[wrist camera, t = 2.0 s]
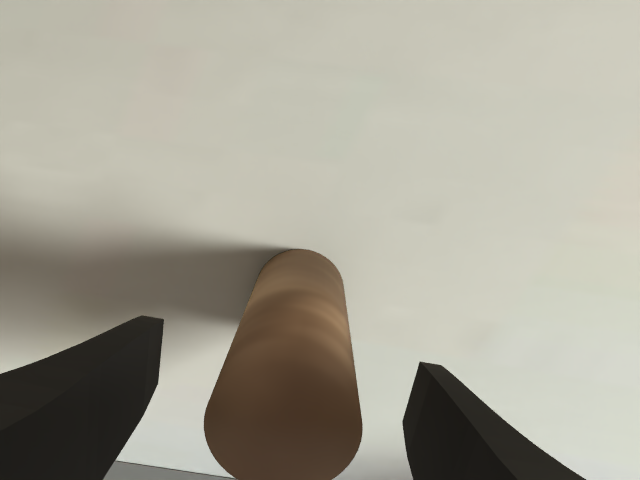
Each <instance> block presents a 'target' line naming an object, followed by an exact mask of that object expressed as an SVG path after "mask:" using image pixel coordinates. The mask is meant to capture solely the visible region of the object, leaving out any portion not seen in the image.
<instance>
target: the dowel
mask: <svg viewBox="0 0 640 480" xmlns="http://www.w3.org/2000/svg"><path fill="white" fill-rule="evenodd" d="M204 432H205V437H206V441H207V444H208V446H209V449H210V451H211V453H212V454H213V456H214V458H215V459H216V460H217V462H218V463H219V464H220V465H221V466H222V467H223V468H224V469H225V470H226V471H227V472H228V473H229V474H231V475H232V476H233V477H235V478H236V479H238V480H332V479H333V478H335V477H336V476H337V475H339V474H340V473H341V472H342V471H343V470H344V469H345V468H346V467H347V466H348V465H349V464H350V462H351V461H352V460H353V458H354V456H355V455H356V453H357V451H358V448H359V445H360V442H361V437H362V418H361V410H360V403H359V396H358V388H357V381H356V374H355V366H354V359H353V352H352V344H351V337H350V330H349V322H348V315H347V308H346V300H345V293H344V286H343V281H342V277H341V275H340V273H339V271H338V269H337V268H336V267H335V265H334V264H333V263H332V262H331V261H330V260H329V259H327V258H326V257H324V256H323V255H321V254H319V253H316V252H314V251H310V250H304V249H295V250H289V251H285V252H282V253H280V254H278V255H276V256H274V257H273V258H272V259H270V260H269V261H268V262H267V263H266V264H265V266H264V267H263V268H262V270H261V272H260V274H259V276H258V279H257V281H256V284H255V286H254V289H253V291H252V294H251V296H250V299H249V301H248V304H247V306H246V309H245V311H244V314H243V317H242V319H241V322H240V324H239V327H238V329H237V332H236V334H235V337H234V339H233V342H232V344H231V347H230V349H229V352H228V354H227V357H226V359H225V362H224V364H223V367H222V369H221V372H220V374H219V377H218V380H217V382H216V385H215V387H214V390H213V392H212V395H211V397H210V400H209V402H208V405H207V407H206V411H205V416H204Z"/></svg>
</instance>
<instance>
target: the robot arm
mask: <svg viewBox="0 0 640 480" xmlns="http://www.w3.org/2000/svg"><path fill="white" fill-rule="evenodd" d="M163 324H164V319H159V318H153V317H147V316H139V317H137V318H134V319H132V320H130V321H128V322H125V323H123V324H121V325H119V326H117V327H115V328H113V329H111V330H109V331H106V332H104V333H102V334H100V335H98V336H96V337H94V338H91V339H89V340H87V341H85V342H83V343H81V344H78V345H76V346H73V347H71V348H69V349H66V350H64V351H61V352H59V353H57V354H54V355H52V356H49V357H47V358H45V359H42V360H39V361H37V362H34V363H31V364H29V365H26V366H23V367H20V368H17V369H14V370H11V371H8V372H5V373H2V374H0V480H103V479H104V477H105V475H106V474H107V472H108V471H109V469H110V468H111V466H112V464H113V463H114V461H115V460H116V458H117V457H118V455H119V453H120V452H121V450H122V449H123V447H124V446H125V444H126V442H127V441H128V439H129V438H130V436H131V434H132V433H133V431H134V430H135V428H136V426H137V425H138V423H139V422H140V420H141V418H142V417H143V415H144V413H145V411H146V409H147V406H148V404H149V402H150V400H151V398H152V396H153V393H154V391H155V389H156V387H157V385H158V378H159V368H160V357H161V346H162V335H163ZM403 430H404V438H405V445H406V452H407V458H408V461H409V465H410V469H411V473H412V476H413V480H586V479H584V478H583V477H581V476H579V475H578V474H576V473H575V472H573V471H572V470H570V469H569V468H567V467H566V466H564V465H563V464H561V463H560V462H559V461H557V460H556V459H554V458H553V457H551V456H550V455H549V454H547V453H546V452H544V451H543V450H541V449H540V448H539V447H537V446H536V445H535V444H533V443H532V442H531V441H529V440H528V439H527V438H526V437H524V436H523V435H522V434H521V433H519V432H518V431H517V430H516V429H514V428H513V427H512V426H511V425H509V424H508V423H507V422H506V421H505V420H503V419H502V418H501V417H500V416H499V415H498V414H496V413H495V412H494V411H493V410H492V409H491V408H489V407H488V406H487V405H486V404H485V403H484V402H483V401H482V400H480V399H479V398H478V397H477V396H476V395H475V394H474V393H473V392H472V391H470V390H469V389H468V388H467V387H466V386H465V385H464V384H463V383H462V382H461V381H459V380H458V379H457V378H456V377H455V376H454V375H453V374H451V373H450V372H449V371H448V370H447V369H445V368H444V367H443V366H441V365H437V364H431V363H425V362H420V363H419V366H418V370H417V373H416V377H415V380H414V384H413V387H412V390H411V394H410V397H409V401H408V404H407V408H406V411H405V415H404V418H403Z"/></svg>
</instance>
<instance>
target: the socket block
mask: <svg viewBox="0 0 640 480" xmlns="http://www.w3.org/2000/svg"><path fill="white" fill-rule="evenodd" d="M103 480H237V479H230V478H224V477H217V476H211V475H204V474H197V473H191V472H184V471H177V470H171V469H164V468H157V467H151V466H144V465H137V464H131V463H124V462H117V461H114V463H113V464H112V466H111V468H110V469H109V471H108V472H107V474H106V475H105V477H104V479H103Z"/></svg>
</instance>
